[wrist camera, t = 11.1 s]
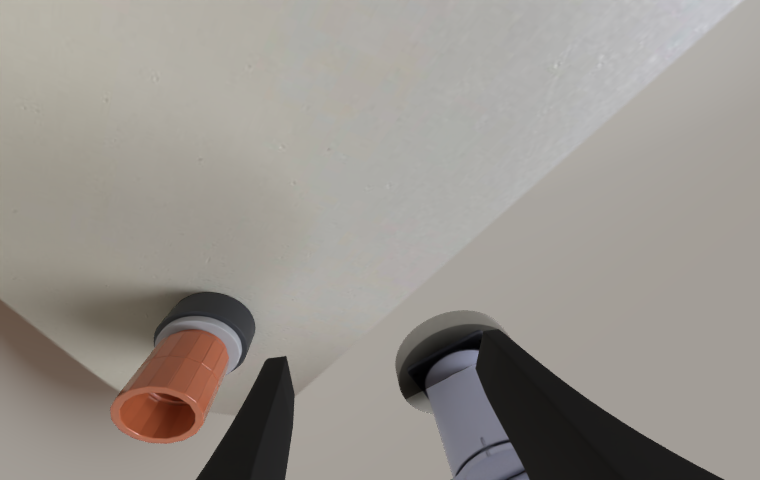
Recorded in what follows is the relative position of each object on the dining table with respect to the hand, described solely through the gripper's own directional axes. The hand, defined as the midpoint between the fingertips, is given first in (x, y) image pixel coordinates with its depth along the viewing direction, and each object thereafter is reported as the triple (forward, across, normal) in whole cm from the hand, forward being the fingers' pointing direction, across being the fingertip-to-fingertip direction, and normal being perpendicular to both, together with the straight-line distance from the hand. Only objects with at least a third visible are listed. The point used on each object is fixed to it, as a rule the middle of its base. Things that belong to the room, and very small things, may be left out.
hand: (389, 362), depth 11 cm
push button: (+10, +10, +6) cm, 15 cm away
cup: (+7, +10, +5) cm, 14 cm away
